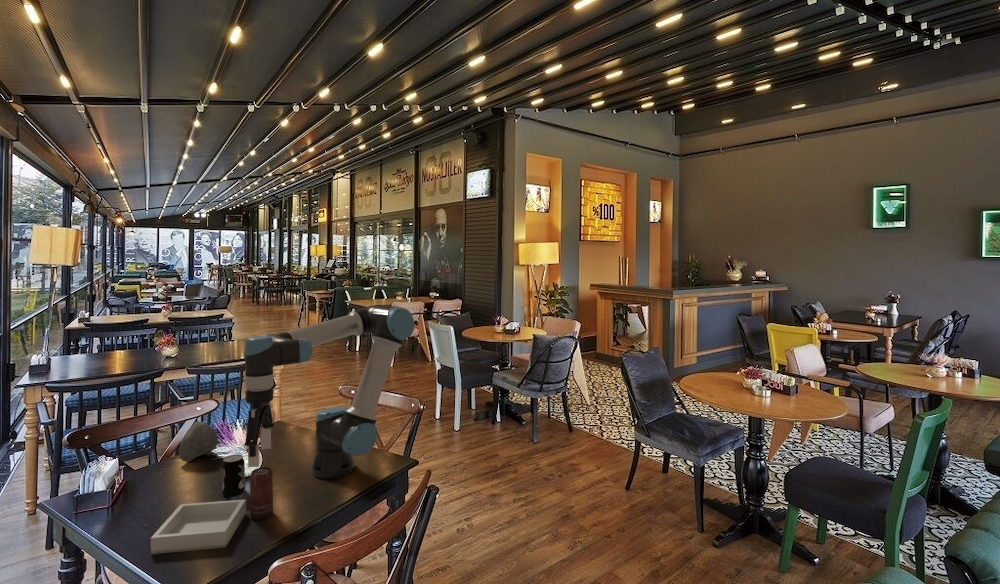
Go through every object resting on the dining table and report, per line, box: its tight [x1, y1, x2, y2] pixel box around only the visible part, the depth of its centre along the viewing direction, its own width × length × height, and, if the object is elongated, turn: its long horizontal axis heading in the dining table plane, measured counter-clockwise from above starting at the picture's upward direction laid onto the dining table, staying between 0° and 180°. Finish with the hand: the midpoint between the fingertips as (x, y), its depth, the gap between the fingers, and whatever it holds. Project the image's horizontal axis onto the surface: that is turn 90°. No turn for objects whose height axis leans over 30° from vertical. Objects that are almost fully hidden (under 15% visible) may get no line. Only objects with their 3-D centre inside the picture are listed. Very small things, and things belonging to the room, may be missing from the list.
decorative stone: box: [178, 421, 219, 463], centre depth 190 cm, size 15×10×15 cm
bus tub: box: [150, 499, 247, 555], centre depth 139 cm, size 18×18×4 cm
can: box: [249, 466, 274, 521], centre depth 149 cm, size 6×6×14 cm
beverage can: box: [221, 454, 246, 498], centre depth 163 cm, size 7×7×12 cm
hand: (260, 457), depth 148 cm, fingers open, 13 cm apart
